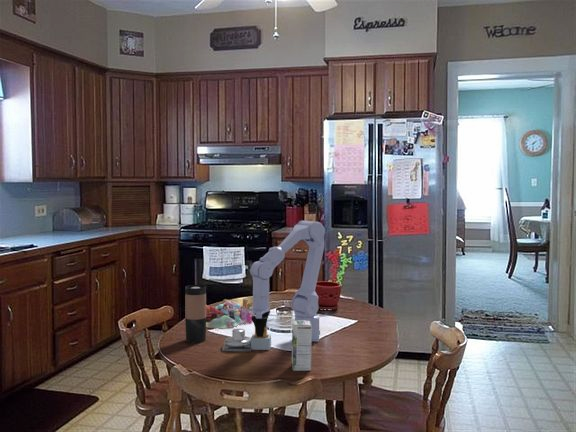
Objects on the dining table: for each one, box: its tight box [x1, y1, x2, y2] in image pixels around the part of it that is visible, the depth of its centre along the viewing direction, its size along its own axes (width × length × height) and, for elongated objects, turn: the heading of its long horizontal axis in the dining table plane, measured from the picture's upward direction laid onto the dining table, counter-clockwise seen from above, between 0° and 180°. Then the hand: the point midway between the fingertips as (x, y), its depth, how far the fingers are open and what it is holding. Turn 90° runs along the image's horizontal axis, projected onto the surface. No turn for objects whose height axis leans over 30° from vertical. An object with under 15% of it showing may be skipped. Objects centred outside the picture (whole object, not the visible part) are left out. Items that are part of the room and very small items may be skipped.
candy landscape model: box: [206, 297, 255, 330], centre depth 222 cm, size 25×24×9 cm
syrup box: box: [291, 320, 313, 372], centre depth 164 cm, size 6×6×14 cm
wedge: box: [254, 326, 268, 338], centre depth 185 cm, size 2×4×7 cm, turn 86°
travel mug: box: [184, 284, 207, 344], centre depth 193 cm, size 8×8×20 cm
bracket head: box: [250, 333, 272, 351], centre depth 189 cm, size 7×13×4 cm, turn 177°
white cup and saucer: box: [221, 328, 253, 353], centre depth 186 cm, size 10×10×6 cm
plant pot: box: [315, 280, 342, 310], centre depth 244 cm, size 13×13×12 cm
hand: (261, 333), depth 185 cm, fingers open, 6 cm apart
